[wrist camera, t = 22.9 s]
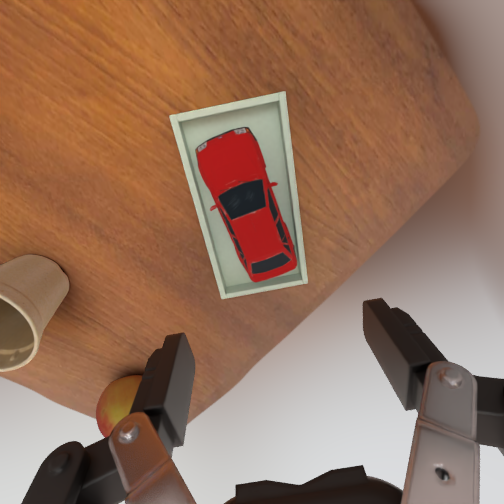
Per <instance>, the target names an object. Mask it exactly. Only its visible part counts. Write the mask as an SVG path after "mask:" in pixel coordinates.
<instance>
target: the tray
mask: <svg viewBox="0 0 504 504" xmlns="http://www.w3.org/2000/svg"><path fill="white" fill-rule="evenodd" d="M169 117H170V121H171V124H172V128H173V131H174V135H175V138H176V142H177V145H178V149H179V152H180V156H181V159H182V163H183V166H184V170H185V173H186V177H187V180H188V184H189V187H190V191H191V194H192V198H193V201H194V205H195V208H196V212H197V215H198V219H199V222H200V226H201V229H202V233H203V236H204V240H205V243H206V247H207V250H208V254H209V257H210V261H211V264H212V267H213V271H214V274H215V278H216V281H217V285H218V288H219V292H220V295H221V299H226V298H232V297H237V296H242V295H248V294H253V293H258V292H264V291H269V290H274V289H280V288H285V287H290V286H296V285H301V284H306V283H308V278H307V269H306V261H305V253H304V244H303V236H302V227H301V219H300V210H299V202H298V194H297V185H296V177H295V168H294V160H293V151H292V143H291V135H290V126H289V118H288V109H287V101H286V92H285V91H283V92H279V93H273V94H269V95H264V96H259V97H255V98H250V99H245V100H240V101H236V102H231V103H226V104H221V105H217V106H212V107H207V108H203V109H198V110H193V111H188V112H184V113H179V114H174V115H170V116H169ZM240 127H249V128H250V130H251V132H252V133H253V135H254V136H255V137H256V139H257V141H258V144H259V146H260V149H261V152H262V155H263V158H264V161H265V164H266V168H265V170H266V173H267V176H268V179H269V181H270V183H272V182H276V183H278V184H277V186H273V187H272V190H273V193H274V195H275V198H276V201H277V204H278V207H279V210H280V212H281V215H282V218H283V221H284V222H285V223H286V225H287V228H288V230H289V233H290V236H291V239H292V242H293V245H294V246H295V253H296V257H297V266H296V268H295V269H294V270H291V271H289V272H287V273H285V274H282V275H279V276H276V277H274V278H271V279H268V280H264V281H260V282H253V281H252V280H251V279H250V277H249V275H248V273H247V272H246V270H245V268H244V267H243V265H242V263H241V262H240V260H239V258H238V256H237V253H236V250H235V247H234V244H233V242H232V240H231V238H230V235H229V233H228V231H227V229H226V226H225V224H224V222H223V220H222V217H221V215H220V213H219V211H218V208H216V209H214V210H212V211H210V208H211V207H212V206H213V205H216V204H215V202H214V199H213V197H212V195H211V193H210V191H209V189H208V187H207V186H206V185H205V183H204V181H203V179H202V177H201V174H200V172H199V168H198V163H197V157H196V152H195V149H196V148H197V147H198V146H199V145H200V144H202V143H203V142H205V141H207V140H208V139H210V138H212V137H215V136H217V135H219V134H222V133H224V132H226V131H229V130H231V129H236V128H240Z"/></svg>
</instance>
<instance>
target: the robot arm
mask: <svg viewBox="0 0 504 504" xmlns="http://www.w3.org/2000/svg"><path fill="white" fill-rule="evenodd" d="M363 331H364V335H365V338H366V341H367V343H368V345H369V346H370V348H371V350H372V351H373V353H374V355H375V357H376V359H377V360H378V362H379V364H380V366H381V367H382V369H383V371H384V373H385V374H386V376H387V378H388V380H389V382H390V384H391V385H392V387H393V389H394V391H395V392H396V394H397V396H398V398H399V399H400V401H401V403H402V405H403V407H404V408H405V410H406V411H407V410H413V409H416V410H417V412H418V418H417V420H416V426H415V431H414V436H413V441H412V446H411V452H410V457H409V463H408V468H407V473H406V479H405V484H404V489H403V491H402V490H401V489H399V488H398V487H396V486H394V485H392V484H391V483H388V482H386V481H384V480H381V479H378V478H374V477H370V476H366V473H365V470H364V467H363V465H361V466H355V467H348V468H341V469H335V470H331V471H328V472H326V473H324V474H322V475H320V476H318V477H316V478H314V479H312V480H310V481H308V482H306V483H304V484H302V485H295V484H288V483H282V482H275V481H268V480H264V481H258V482H251V483H245V484H239V485H236V496H235V497H233V498H231V499H230V500H228V501H227V502H225V503H224V504H479V488H480V487H479V486H480V484H479V482H480V446H479V444H481V445H487V446H493V447H498V449H499V450H500V451H501V453H502V454H503V456H504V379H498V378H489V377H479V376H475V375H472V374H471V373H470V372H469V371H468V370H466V369H465V368H463V367H462V366H460V365H457V364H455V363H452V362H448V360H447V359H446V358H445V357H444V356H443V354H442V353H441V352H440V351H439V350H438V349H437V347H436V346H435V345H434V344H433V343H432V341H431V340H430V339H429V338H428V337H427V336H426V334H425V333H423V332H422V330H421V328H420V327H419V326H418V325H416V323H415V321H414V320H413V319H412V318H411V317H410V315H409V314H407V313H406V312H404V311H402V310H400V309H399V308H391V309H390V307H389V306H388V305H387V303H386V302H385V301H384V300H383V299H382V298H378V299H372V300H367V301H364V302H363ZM194 375H195V360H194V356H193V353H192V351H191V348H190V345H189V343H188V340H187V337H186V335H185V333H178V334H172V335H167V336H166V338H165V341H164V344H163V347H162V348H161V349H156V350H155V351H154V353H153V354H152V355H151V356H150V358H149V359H148V362H147V364H146V367H145V372H144V373H143V376H142V380H141V381H140V384H139V387H138V390H137V393H136V395H135V398H134V401H133V404H132V407H131V409H130V412H129V415H127V416H125V417H124V418H123V419H121V420H120V421H119V422H118V423H117V424H116V425H115V427H114V428H113V430H112V432H111V434H110V435H109V436H108V437H106V438H104V439H102V440H100V441H98V442H96V443H93V444H91V445H89V446H87V447H85V448H84V447H83V446H82V444H81V443H79V442H77V441H72V442H68V443H65V444H63V445H61V446H59V447H58V448H57V449H55V450H54V451H53V452H52V453H51V454H50V455H49V456H48V457H47V458H46V459H45V460H44V461H43V463H42V464H41V466H40V468H39V470H38V472H37V474H36V476H35V478H34V480H33V482H32V484H31V486H30V488H29V490H28V492H27V493H26V496H25V497H24V499H23V502H22V503H21V504H118V503H120V502H122V501H124V500H125V503H126V504H196V502H195V500H194V498H193V497H192V495H191V493H190V491H189V489H188V487H187V486H186V484H185V482H184V480H183V479H182V477H181V475H180V473H179V471H178V469H177V467H176V466H175V464H174V462H173V460H172V459H171V458H172V451H173V447H179V446H183V444H184V437H185V431H186V425H187V419H188V412H189V406H190V400H191V394H192V387H193V381H194Z"/></svg>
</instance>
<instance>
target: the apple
mask: <svg viewBox="0 0 504 504" xmlns="http://www.w3.org/2000/svg"><path fill="white" fill-rule="evenodd" d="M141 380H142V376H141V375H131V376H127V377H123V378H120V379H117V380H115V381H113V382H112V383H110V384H109V385H108V386H107V387H106V388H105V390H104V391H103V393H102V395H101V396H100V399H99V401H98V404H97V408H96V419H97V424H98V427H99V430H100V431H101V433H102V435H103V436H104V437H105V438H106V437H108V436H109V435H110V434H111V432H112V430H113V428H114V427H115V425H116V424H117V423H118V422H119V421H120V420H121V419H123V418H124V417H125V416H127V415H129V412H130V409H131V407H132V404H133V401H134V398H135V395H136V393H137V390H138V387H139V384H140V381H141Z"/></svg>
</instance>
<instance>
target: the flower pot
mask: <svg viewBox="0 0 504 504" xmlns="http://www.w3.org/2000/svg"><path fill="white" fill-rule="evenodd" d="M68 290H69V280H68V277H67V275H66V274H64V273H63V271H62V270H61V269H60V267H59V266H58V264H57V263H55V262H54V261H52V260H50V259H48V258H46V257H43V256H39V255H23V256H20V257H17V258H15V259H13V260H11V261H8V262H6V263H4V264H2V265H0V372H5V371H11V370H15V369H18V368H20V367H22V366H24V365H26V364H27V363H29V362H30V361H31V360H32V359H33V357H34V356H35V354H36V353H37V351H38V349H39V344H40V339H41V337H42V334H43V330H44V328H45V327H46V325H47V324H48V322H49V321H50V319H51V317H52V316H53V314H54V313H55V311H56V310H57V308H58V307H59V305H60V304H61V302H62V301H63V299H64V298H65V296H66V295H67V293H68Z"/></svg>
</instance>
